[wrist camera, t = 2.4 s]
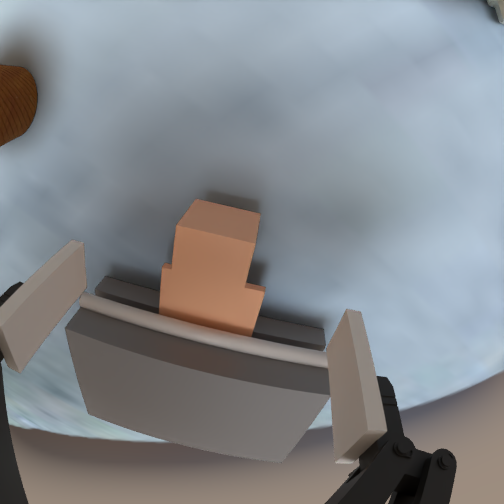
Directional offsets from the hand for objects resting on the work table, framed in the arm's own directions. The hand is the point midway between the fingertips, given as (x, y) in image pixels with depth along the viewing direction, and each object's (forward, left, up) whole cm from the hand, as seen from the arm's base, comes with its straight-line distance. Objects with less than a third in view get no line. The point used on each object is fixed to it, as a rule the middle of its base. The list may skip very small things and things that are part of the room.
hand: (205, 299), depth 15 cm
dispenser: (0, -13, -8) cm, 15 cm away
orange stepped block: (0, -6, -6) cm, 9 cm away
